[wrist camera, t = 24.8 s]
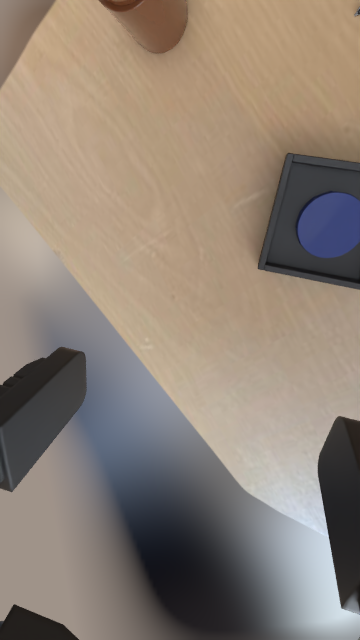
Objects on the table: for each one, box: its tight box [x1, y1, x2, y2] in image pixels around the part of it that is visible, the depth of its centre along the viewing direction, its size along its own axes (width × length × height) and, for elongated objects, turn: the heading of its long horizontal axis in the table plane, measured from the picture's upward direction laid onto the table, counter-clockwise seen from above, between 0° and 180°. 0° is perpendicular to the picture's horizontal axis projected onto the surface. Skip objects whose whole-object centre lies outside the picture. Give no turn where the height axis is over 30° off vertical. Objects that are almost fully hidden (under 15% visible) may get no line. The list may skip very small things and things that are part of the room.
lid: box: [295, 191, 360, 258], centre depth 29 cm, size 6×6×2 cm
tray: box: [258, 153, 360, 290], centre depth 30 cm, size 11×11×2 cm
